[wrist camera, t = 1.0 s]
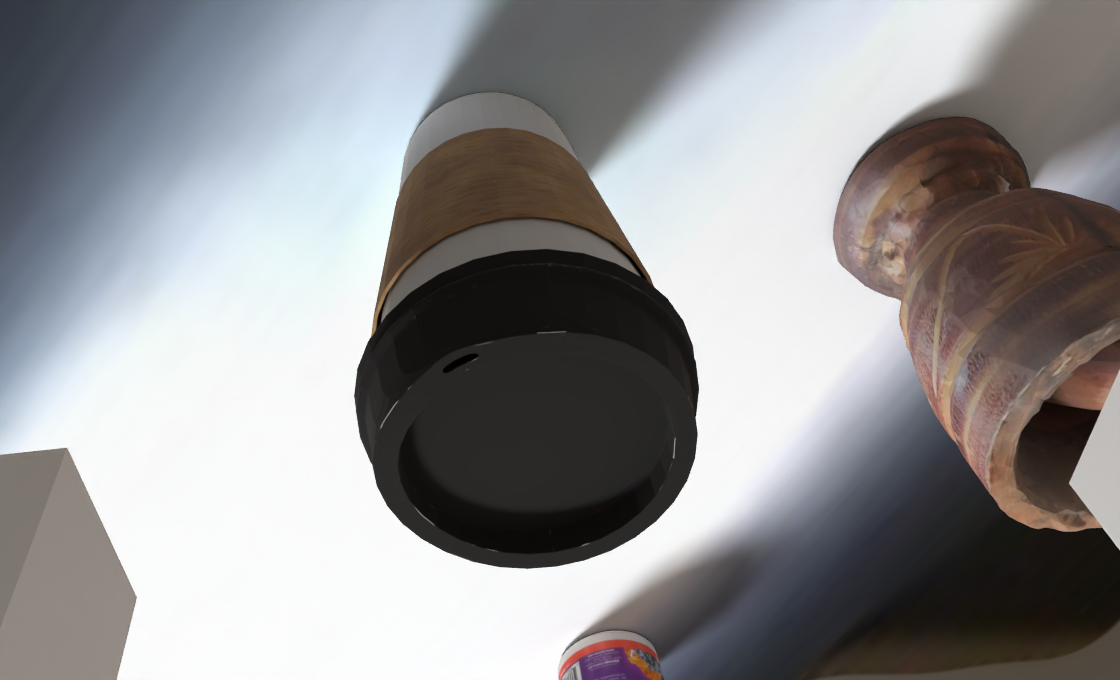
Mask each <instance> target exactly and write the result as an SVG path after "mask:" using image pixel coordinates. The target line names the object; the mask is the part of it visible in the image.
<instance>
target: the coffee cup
mask: <svg viewBox="0 0 1120 680" xmlns="http://www.w3.org/2000/svg"><path fill="white" fill-rule="evenodd" d="M698 393H699V385H698V377H697V368H696V361H695V359H694V352H693V345H692V342H691V340H690V337H689V335H688V332H687V329H686V327H685V324H684V321H683V320H682V318H681V317H680V316H679V314H678V313H677V312H676V310H675V309H674V307H673V306H672V305H671V303H670V302H669V300H668V299H667V298H666V297H665V296H664V295H663V294H661V293H660V292H659V291H658V290H657V289H656V288H654V286H653V283H652V281H651V278H650V276H649V274H648V273H647V271H646V269H645V268H644V266H643V265H642V263H641V261H640V260H639V258H638V256H637V255H636V253H635V251H634V250H633V248H632V246H631V245H630V243H629V241H628V240H627V238H626V237H625V235H624V233H623V232H622V230H621V228H620V227H619V225H618V223H617V222H616V220H615V218H614V217H613V215H612V213H611V212H610V210H609V209H608V207H607V205H606V204H605V202H604V200H603V199H602V197H601V195H600V194H599V192H598V190H597V189H596V187H595V185H594V184H593V182H592V181H591V179H590V177H589V176H588V174H587V173H586V171H585V170H584V169H583V167H582V166H581V164H580V162H579V160H578V158H577V156H576V154H575V152H574V151H573V149H572V147H571V145H570V143H569V141H568V139H567V138H566V136H565V134H564V133H563V132H562V130H561V129H560V127H559V126H558V125H557V123H556V122H555V120H554V119H553V118H552V117H550V116H549V115H548V114H547V113H546V112H545V111H544V110H543V109H541V108H540V107H538V106H536V105H535V104H533V103H532V102H530V101H528V100H525V99H523V98H520V97H517V96H515V95H511V94H504V93H498V92H486V93H475V94H470V95H466V96H461V97H459V98H456V99H454V100H452V101H450V102H447V103H445V104H443V105H442V106H441V107H439V108H438V109H436V110H435V111H433V112H432V113H431V114H430V115H429V116H428V117H427V118H426V119H425V120H424V121H423V122H422V123H421V124H420V125H419V127H418V128H417V130H416V131H415V133H414V135H413V136H412V138H411V139H410V142H409V145H408V147H407V150H406V153H405V156H404V162H403V169H402V176H401V183H400V190H399V196H398V199H397V201H396V206H395V212H394V217H393V222H392V227H391V232H390V237H389V242H388V247H387V252H386V257H385V262H384V267H383V272H382V277H381V282H380V287H379V293H378V298H377V303H376V308H375V313H374V319H373V327H372V335H371V338H370V340H369V341H368V343H367V346H366V348H365V351H364V354H363V356H362V359H361V361H360V364H359V366H358V369H357V378H356V386H355V395H354V397H355V404H356V413H357V420H358V426H359V433H360V438H361V440H362V443H363V445H364V448H365V450H366V452H367V455H368V457H369V459H370V462H371V463H372V465H373V470H374V474H375V479H376V484H377V487H378V489H379V491H380V493H381V495H382V496H383V498H384V500H385V502H386V504H387V506H388V507H389V508H390V510H391V511H392V512H393V513H394V514H395V515H396V517H397V518H398V519H399V520H400V521H401V522H402V524H404V525H405V526H406V527H407V528H409V529H410V530H411V531H413V532H414V533H415V534H416V535H418V536H419V537H420V538H421V539H423V540H425V541H427V542H428V543H430V544H432V545H434V546H436V547H438V548H440V549H441V550H443V551H445V552H447V553H450V554H453V555H456V556H458V557H461V558H464V559H467V560H469V561H472V562H477V563H482V564H487V565H492V566H497V567H508V568H525V569H529V568H542V567H554V566H560V565H565V564H570V563H574V562H579V561H584V560H587V559H589V558H592V557H595V556H598V555H600V554H603V553H606V552H609V551H611V550H613V549H615V548H617V547H618V546H620V545H622V544H624V543H626V542H628V541H629V540H631V539H633V538H635V537H636V536H637V535H639V534H640V533H641V532H643V531H644V530H645V529H647V528H648V527H649V526H650V525H652V524H653V523H654V522H656V521H657V520H658V519H659V517H660V516H661V515H662V514H663V513H664V512H665V511H666V510H667V509H668V508H669V507H670V506H671V505H672V503H673V502H674V501H675V499H676V498H677V496H678V494H679V493H680V491H681V490H682V488H683V486H684V485H685V483H686V482H687V479H688V477H689V474H690V471H691V468H692V465H693V462H694V459H695V453H696V444H697V435H698V434H697V426H696V419H695V417H696V411H697V402H698Z"/></svg>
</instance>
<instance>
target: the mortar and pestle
mask: <svg viewBox="0 0 1120 680" xmlns="http://www.w3.org/2000/svg"><path fill="white" fill-rule="evenodd" d="M833 240H834V245H835V250H836V255H837V260H838V262H839V263H840V264H841V265H842V266H843V267H844V268H845V269H846V270H847V271H848V272H850V273H851V274H852V275H853V276H854V277H855V278H857V279H858V280H859V281H860V282H861V283H862V284H864V285H865V286H867V287H869V288H870V289H872V290H874V291H876V292H879V293H881V294H883V295H886V296H889V297H893V298H896V299H899V300H901V307H900V314H899V319H900V326H901V329H902V332H903V334H904V337H905V340H906V345H907V348H908V350H909V351H910V353H911V357H912V360H913V363H914V366H915V369H916V372H917V375H918V377H919V380H920V383H921V385H922V387H923V389H924V391H925V393H926V395H927V397H928V400H929V403H930V405H931V407H932V409H933V411H934V413H935V415H936V416H937V418H938V419H939V421H940V422H941V424H942V425H943V427H944V428H945V430H946V431H947V433H948V434H949V436H950V437H951V438H952V439H953V440H954V441H955V442H956V443H957V445H958V447H959V449H960V451H961V453H962V455H963V456H964V458H965V459H966V461H967V462H968V463H969V465H970V466H971V468H972V469H973V470H974V472H975V473H976V474H977V476H978V477H979V479H980V480H981V482H982V483H983V484H984V486H985V487H986V489H987V490H988V492H989V493H990V494H991V495H992V496H993V498H994V499H995V501H996V502H997V504H998V506H999V507H1000V509H1002V510H1003V511H1004V512H1005V513H1006V514H1007V515H1008V516H1009V517H1011V518H1013V519H1015V520H1017V521H1019V522H1021V523H1023V524H1025V525H1027V526H1029V527H1032V528H1036V529H1041V528H1045V527H1048V528H1052V529H1057V530H1060V531H1079V530H1083V529H1086V528H1103V527H1102V526H1101V525H1100V523H1099V522H1098V521H1097V520H1096V518H1095V517H1094V516H1093V514H1092V513H1091V512H1090V510H1089V509H1088V508H1087V506H1086V505H1085V504H1084V502H1083V501H1082V500H1081V499H1080V497H1079V496H1078V495H1077V493H1076V492H1075V491H1074V489H1073V488H1072V487H1071V485H1070V484H1069V482H1070V480H1071V478H1072V475H1073V473H1074V471H1075V469H1076V466H1077V464H1078V462H1079V460H1080V457H1081V455H1082V453H1083V451H1084V448H1085V446H1086V444H1087V442H1088V440H1089V437H1090V435H1091V433H1092V431H1093V428H1094V426H1095V424H1096V422H1097V419H1098V417H1099V415H1100V413H1101V410H1102V408H1103V406H1104V404H1105V401H1106V399H1107V397H1108V395H1109V392H1110V390H1111V388H1112V386H1113V383H1114V381H1115V379H1116V377H1117V375H1118V372H1119V370H1120V211H1118V210H1116V209H1114V208H1112V207H1110V206H1108V205H1104V204H1101V203H1097V202H1094V201H1090V200H1087V199H1083V198H1080V197H1077V196H1074V195H1070V194H1066V193H1062V192H1057V191H1053V190H1048V189H1041V188H1031V186H1030V182H1029V178H1028V174H1027V170H1026V167H1025V165H1024V162H1023V160H1022V158H1021V156H1020V155H1019V153H1018V152H1017V151H1016V150H1015V149H1014V148H1012V146H1011V145H1010V144H1009V143H1008V142H1007V141H1006V140H1005V138H1004V137H1003V136H1002V135H1000V134H999V133H998V132H997V131H996V130H994V129H993V128H992V127H991V126H988V125H986V124H984V123H982V122H980V121H978V120H976V119H972V118H967V117H953V118H944V119H937V120H933V121H929V122H925V123H923V124H920V125H918V126H915V127H913V128H910V129H908V130H905V131H903V132H901V133H898V134H896V135H895V136H893V137H891V138H890V139H888V140H887V141H885V142H884V143H882V144H881V145H880V146H879V147H877V148H876V149H875V150H874V151H872V152H871V153H870V154H869V155H868V156H867V157H866V158H865V159H864V161H863V162H862V163H861V164H860V165H859V166H858V167H857V168H856V170H855V171H854V173H853V174H852V176H851V177H850V179H849V181H848V183H847V185H846V187H845V189H844V191H843V193H842V195H841V198H840V200H839V203H838V206H837V210H836V215H835V220H834V230H833Z"/></svg>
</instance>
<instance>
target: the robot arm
mask: <svg viewBox="0 0 1120 680" xmlns="http://www.w3.org/2000/svg"><path fill="white" fill-rule="evenodd" d="M1069 484H1070V485H1071V487H1072V488H1073V489H1074V491H1075V492H1076V493H1077V495H1078V496H1079V497H1080V499H1081V500H1082V501H1083V502H1084V504H1085V505H1086V506H1087V508H1088V509H1089V510H1090V512H1091V513H1092V514H1093V516H1094V517H1095V518H1096V520H1097V521H1098V522H1099V523H1100V525H1101V526H1102V527H1103V529H1104V530H1105V531H1106V533H1107V534H1108V535H1109V537H1110V538H1111V539H1112V541H1113V542H1114V543H1115V545H1116V546H1117V547H1118V548H1119V550H1120V370H1119V372H1118V375H1117V377H1116V379H1115V381H1114V383H1113V386H1112V388H1111V390H1110V392H1109V395H1108V397H1107V399H1106V401H1105V404H1104V406H1103V408H1102V410H1101V413H1100V415H1099V417H1098V419H1097V422H1096V424H1095V426H1094V428H1093V431H1092V433H1091V435H1090V437H1089V440H1088V442H1087V444H1086V446H1085V448H1084V451H1083V453H1082V455H1081V457H1080V460H1079V462H1078V464H1077V466H1076V469H1075V471H1074V473H1073V475H1072V478H1071V480H1070V482H1069ZM136 599H137V597H136V595H135V593H134V591H133V588H132V586H131V584H130V582H129V580H128V578H127V575H126V573H125V571H124V569H123V567H122V565H121V563H120V560H119V558H118V556H117V554H116V552H115V550H114V548H113V545H112V543H111V541H110V539H109V537H108V535H107V533H106V530H105V528H104V526H103V524H102V522H101V520H100V517H99V515H98V513H97V511H96V509H95V507H94V505H93V502H92V500H91V498H90V496H89V494H88V492H87V490H86V487H85V485H84V483H83V481H82V479H81V477H80V475H79V472H78V470H77V468H76V466H75V464H74V462H73V459H72V457H71V455H70V453H69V451H68V449H67V448H61V449H51V450H42V451H33V452H23V453H14V454H5V455H0V680H117V675H118V671H119V667H120V663H121V659H122V655H123V651H124V647H125V643H126V639H127V635H128V631H129V627H130V623H131V619H132V615H133V611H134V607H135V603H136Z"/></svg>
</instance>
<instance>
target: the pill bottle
mask: <svg viewBox="0 0 1120 680" xmlns="http://www.w3.org/2000/svg"><path fill="white" fill-rule="evenodd" d="M558 677H559V680H664V678H663V674H662V670H661V666H660V662H659V659H658V656H657V653H656V650H655V648H654V647H653V645H652V644H651V643H650V642H649V641H648V640H647V639H645V638H644V637H642V636H640V635H638V634H635V633H632V632H628V631H617V630H616V631H605V632H600V633H596V634H593V635H590V636H588V637H585V638H583V639H581V640H580V641H578V642H576V643H575V644H574V645H572V646H571V647H570V648H569V649H568V650H567V651H566V652H565V653H564V655H563V656H562V658H561V660H560V662H559V666H558Z"/></svg>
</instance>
